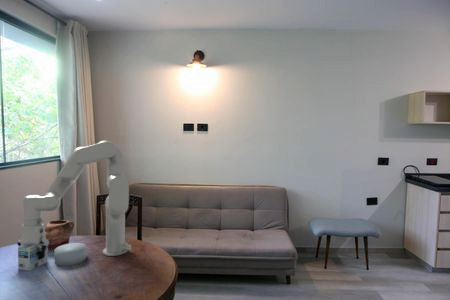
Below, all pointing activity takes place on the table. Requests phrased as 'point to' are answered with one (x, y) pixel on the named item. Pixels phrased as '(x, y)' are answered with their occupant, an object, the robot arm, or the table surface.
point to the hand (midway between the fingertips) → (32, 257)
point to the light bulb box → (30, 257)
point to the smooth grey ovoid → (70, 254)
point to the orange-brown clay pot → (58, 233)
